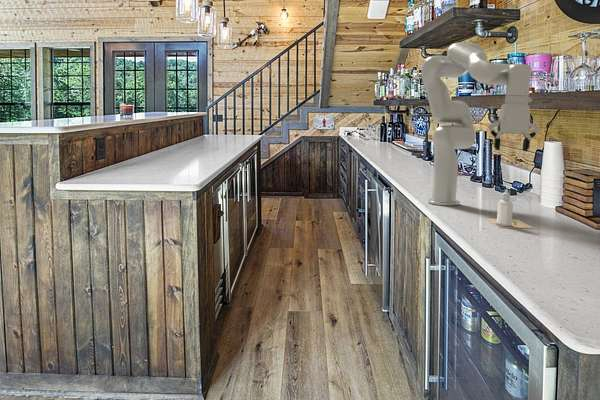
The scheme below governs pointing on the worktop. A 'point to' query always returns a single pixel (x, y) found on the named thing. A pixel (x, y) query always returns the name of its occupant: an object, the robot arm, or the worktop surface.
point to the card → (512, 224)
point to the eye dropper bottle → (505, 210)
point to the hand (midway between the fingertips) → (510, 150)
